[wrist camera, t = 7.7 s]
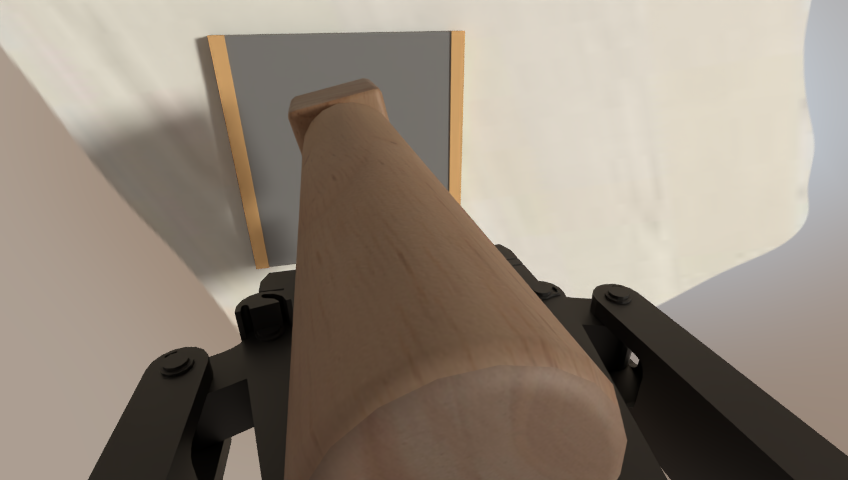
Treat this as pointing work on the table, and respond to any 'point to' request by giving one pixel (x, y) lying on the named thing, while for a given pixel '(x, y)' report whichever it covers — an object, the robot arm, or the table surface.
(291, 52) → the mat
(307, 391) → the wooden block assembly
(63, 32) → the table surface
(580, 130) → the table surface
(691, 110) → the table surface
